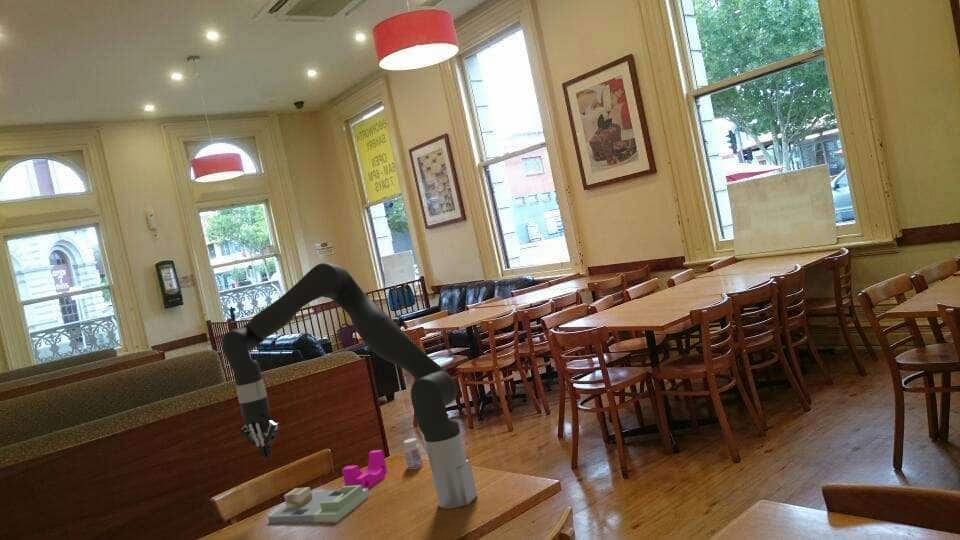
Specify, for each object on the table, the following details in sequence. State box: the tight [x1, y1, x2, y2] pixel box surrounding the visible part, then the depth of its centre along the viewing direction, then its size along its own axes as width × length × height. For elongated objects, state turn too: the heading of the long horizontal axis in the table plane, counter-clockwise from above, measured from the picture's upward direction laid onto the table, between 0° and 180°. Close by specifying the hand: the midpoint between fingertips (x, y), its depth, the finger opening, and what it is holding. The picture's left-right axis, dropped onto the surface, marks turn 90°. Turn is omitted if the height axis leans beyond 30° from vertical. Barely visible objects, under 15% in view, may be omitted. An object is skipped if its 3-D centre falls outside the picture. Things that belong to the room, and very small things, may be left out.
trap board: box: [267, 485, 371, 524], centre depth 184 cm, size 22×16×4 cm
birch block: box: [283, 486, 312, 508], centre depth 186 cm, size 5×5×4 cm
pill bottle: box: [403, 437, 424, 470], centre depth 205 cm, size 5×5×8 cm
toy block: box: [341, 449, 388, 490], centre depth 199 cm, size 15×6×8 cm, turn 152°
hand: (266, 457), depth 189 cm, fingers closed
